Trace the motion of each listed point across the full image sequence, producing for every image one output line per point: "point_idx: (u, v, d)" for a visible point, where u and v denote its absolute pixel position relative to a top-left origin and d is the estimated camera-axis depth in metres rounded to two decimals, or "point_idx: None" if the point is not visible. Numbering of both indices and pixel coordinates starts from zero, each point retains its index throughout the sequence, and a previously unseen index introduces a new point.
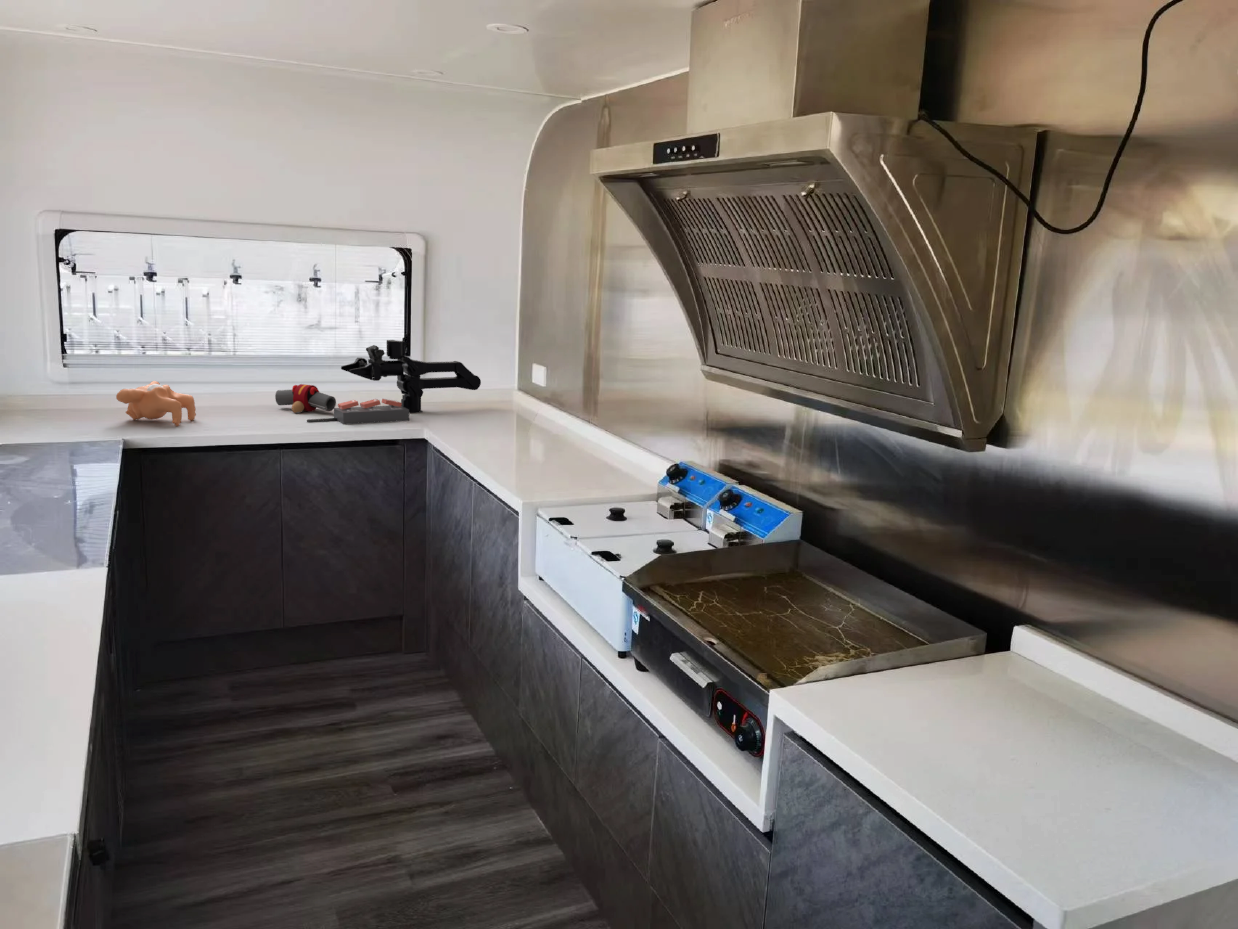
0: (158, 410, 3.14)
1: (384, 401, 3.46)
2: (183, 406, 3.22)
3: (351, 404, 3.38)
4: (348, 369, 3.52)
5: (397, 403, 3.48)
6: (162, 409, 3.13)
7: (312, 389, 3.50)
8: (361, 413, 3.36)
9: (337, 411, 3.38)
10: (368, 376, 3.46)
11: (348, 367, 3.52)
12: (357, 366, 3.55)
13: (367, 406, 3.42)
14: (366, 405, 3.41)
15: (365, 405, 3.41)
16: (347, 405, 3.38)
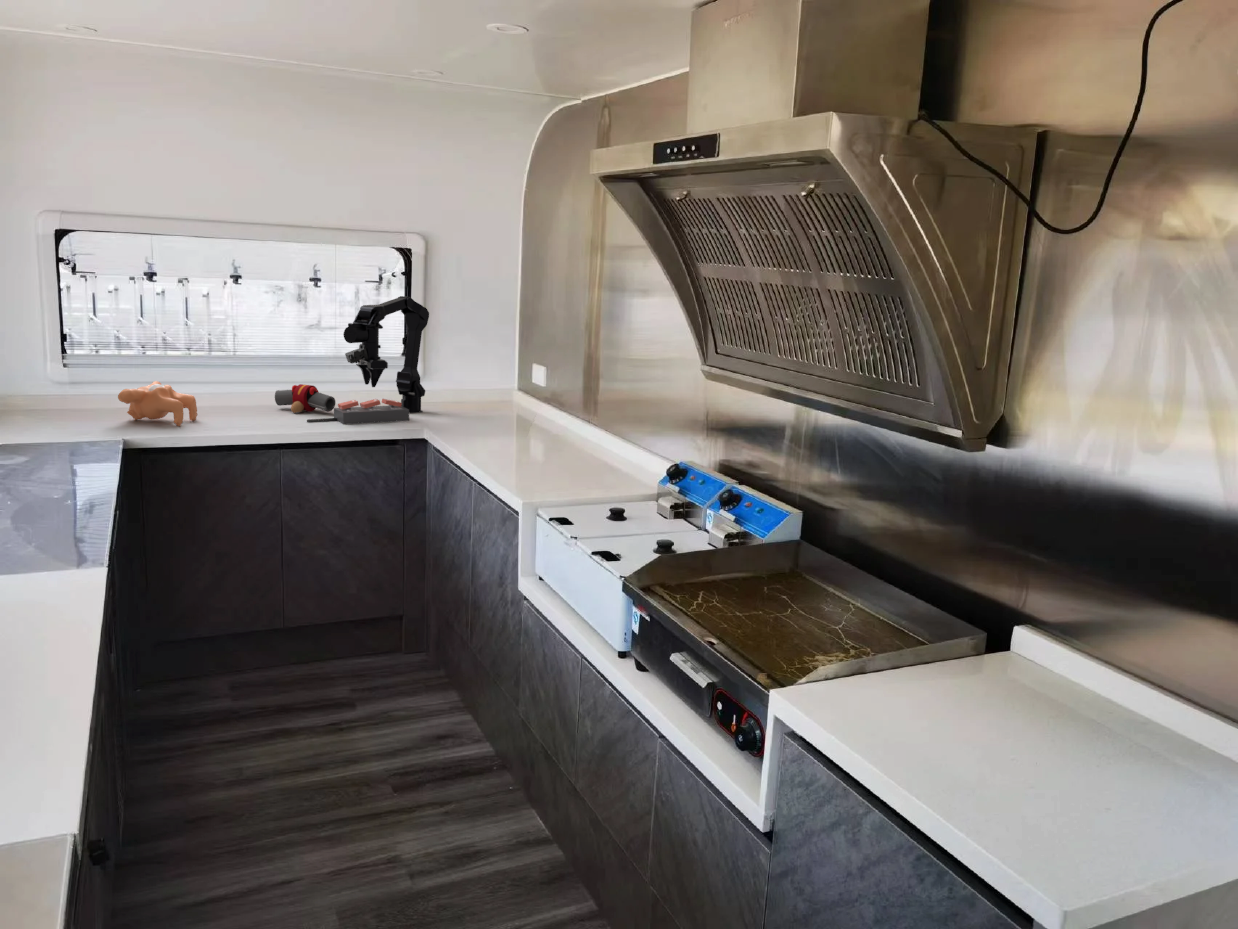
0: (160, 410, 3.14)
1: (384, 401, 3.46)
2: (185, 406, 3.22)
3: (351, 404, 3.38)
4: (368, 376, 3.45)
5: (397, 403, 3.48)
6: (164, 409, 3.13)
7: (311, 389, 3.49)
8: (361, 413, 3.36)
9: (337, 411, 3.38)
10: (380, 370, 3.38)
11: (366, 376, 3.45)
12: (365, 366, 3.44)
13: (367, 406, 3.42)
14: (366, 405, 3.41)
15: (365, 405, 3.41)
16: (347, 405, 3.38)
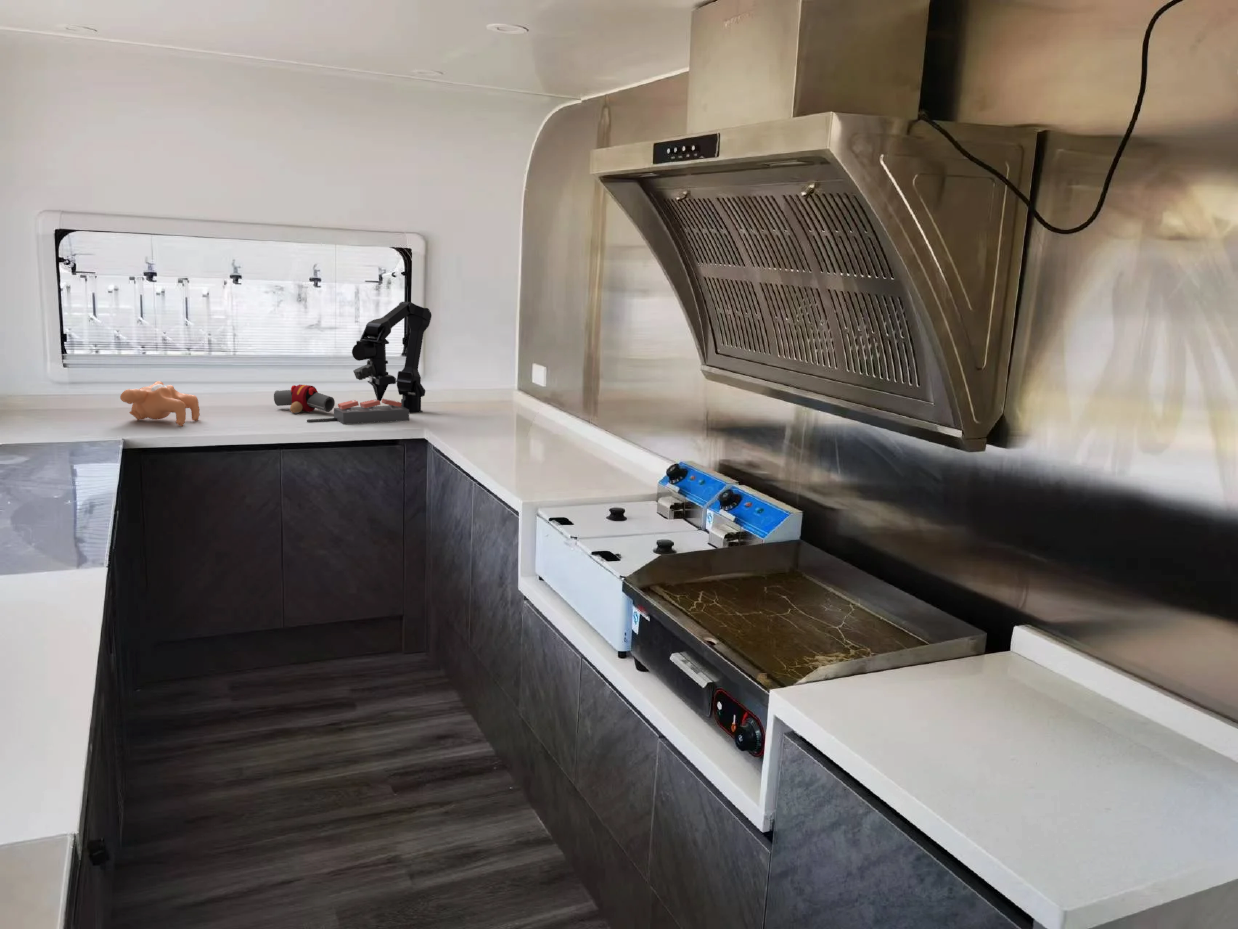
0: (162, 410, 3.14)
1: (384, 401, 3.46)
2: (187, 406, 3.22)
3: (351, 404, 3.38)
4: None
5: (397, 403, 3.48)
6: (166, 409, 3.13)
7: (311, 389, 3.49)
8: (361, 413, 3.36)
9: (337, 411, 3.38)
10: (385, 384, 3.44)
11: None
12: None
13: (367, 406, 3.42)
14: (366, 405, 3.41)
15: (365, 405, 3.41)
16: (347, 405, 3.38)
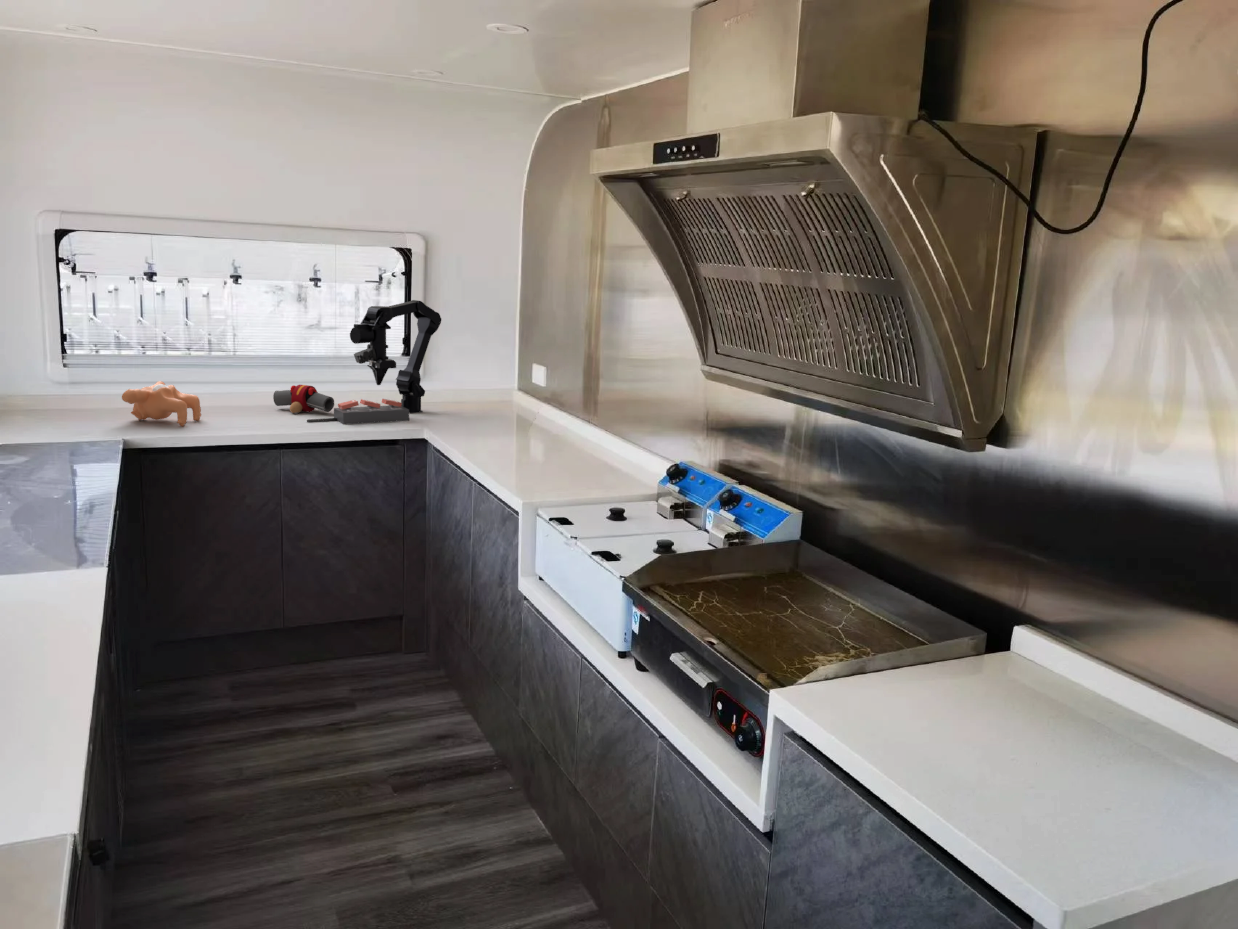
0: (163, 410, 3.14)
1: (384, 401, 3.46)
2: (188, 406, 3.22)
3: (351, 404, 3.38)
4: None
5: (397, 403, 3.48)
6: (167, 409, 3.13)
7: (310, 389, 3.48)
8: (361, 413, 3.36)
9: (337, 411, 3.38)
10: (385, 368, 3.48)
11: None
12: None
13: (367, 404, 3.41)
14: (366, 402, 3.41)
15: (365, 402, 3.41)
16: (347, 405, 3.38)
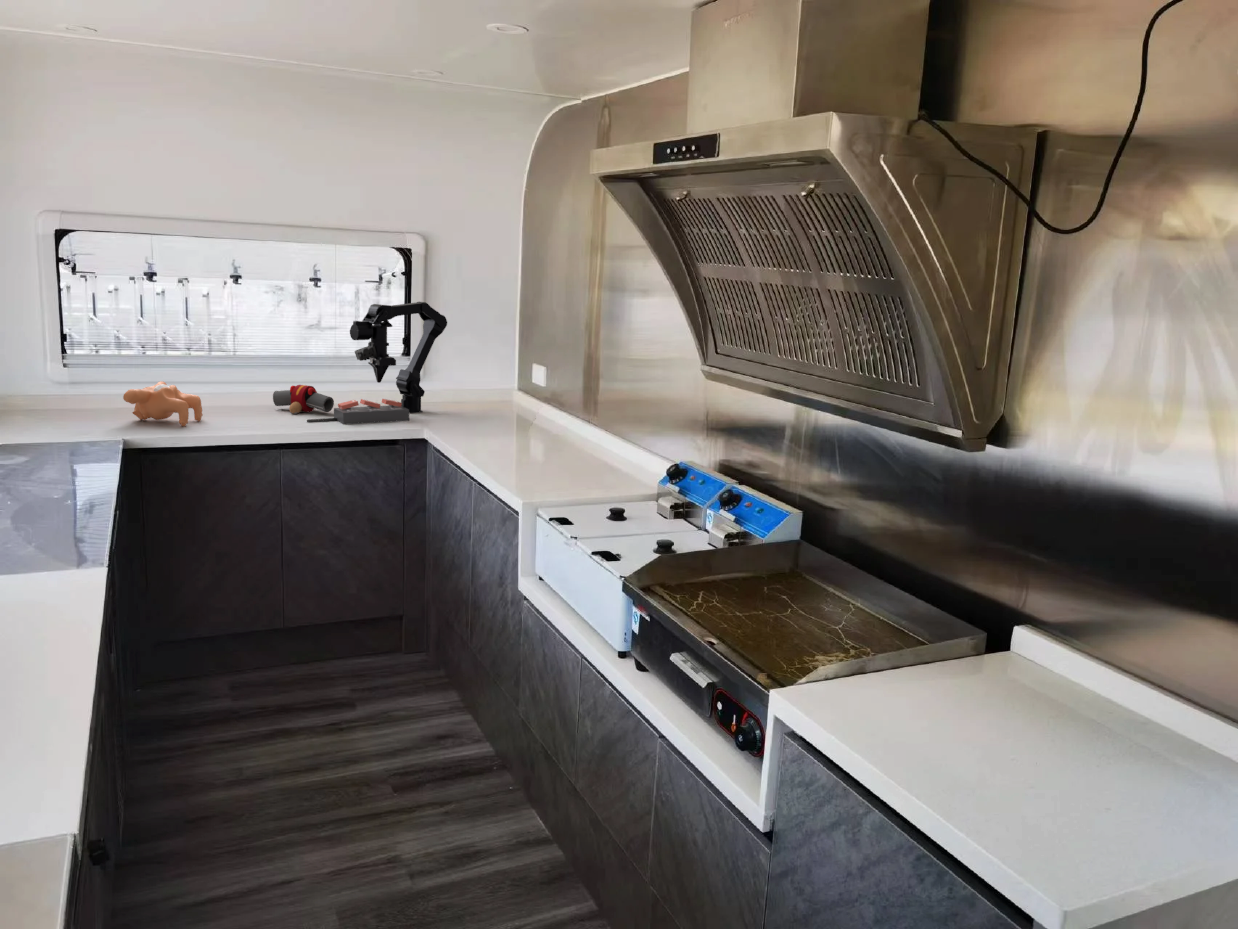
0: (165, 410, 3.14)
1: (384, 401, 3.46)
2: (190, 406, 3.22)
3: (351, 404, 3.38)
4: None
5: (397, 403, 3.48)
6: (169, 409, 3.13)
7: (310, 390, 3.48)
8: (361, 413, 3.36)
9: (337, 411, 3.38)
10: (385, 366, 3.50)
11: None
12: None
13: (367, 404, 3.41)
14: (366, 402, 3.41)
15: (365, 402, 3.41)
16: (347, 405, 3.38)
